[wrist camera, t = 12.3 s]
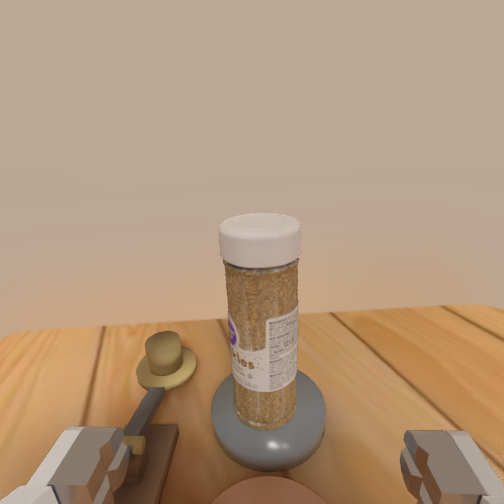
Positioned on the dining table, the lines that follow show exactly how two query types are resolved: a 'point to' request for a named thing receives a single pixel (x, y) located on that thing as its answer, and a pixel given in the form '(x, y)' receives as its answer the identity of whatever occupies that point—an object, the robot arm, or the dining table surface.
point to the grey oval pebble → (272, 441)
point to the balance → (138, 429)
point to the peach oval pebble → (268, 492)
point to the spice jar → (262, 315)
